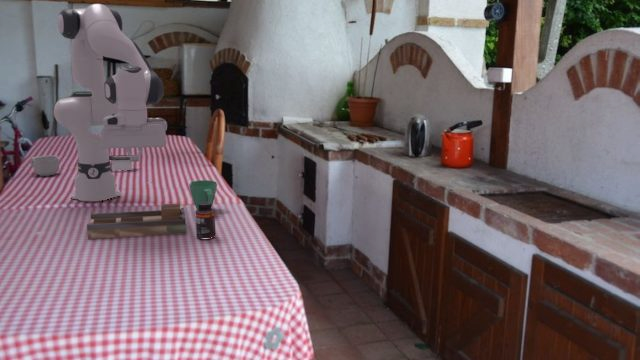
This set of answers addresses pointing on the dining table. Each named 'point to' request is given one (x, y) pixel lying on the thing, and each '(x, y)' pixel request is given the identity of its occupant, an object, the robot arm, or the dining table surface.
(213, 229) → the supplement bottle
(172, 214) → the block
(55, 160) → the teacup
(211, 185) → the mug
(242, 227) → the dining table surface
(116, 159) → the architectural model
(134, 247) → the dining table surface
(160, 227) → the wooden compartment tray
